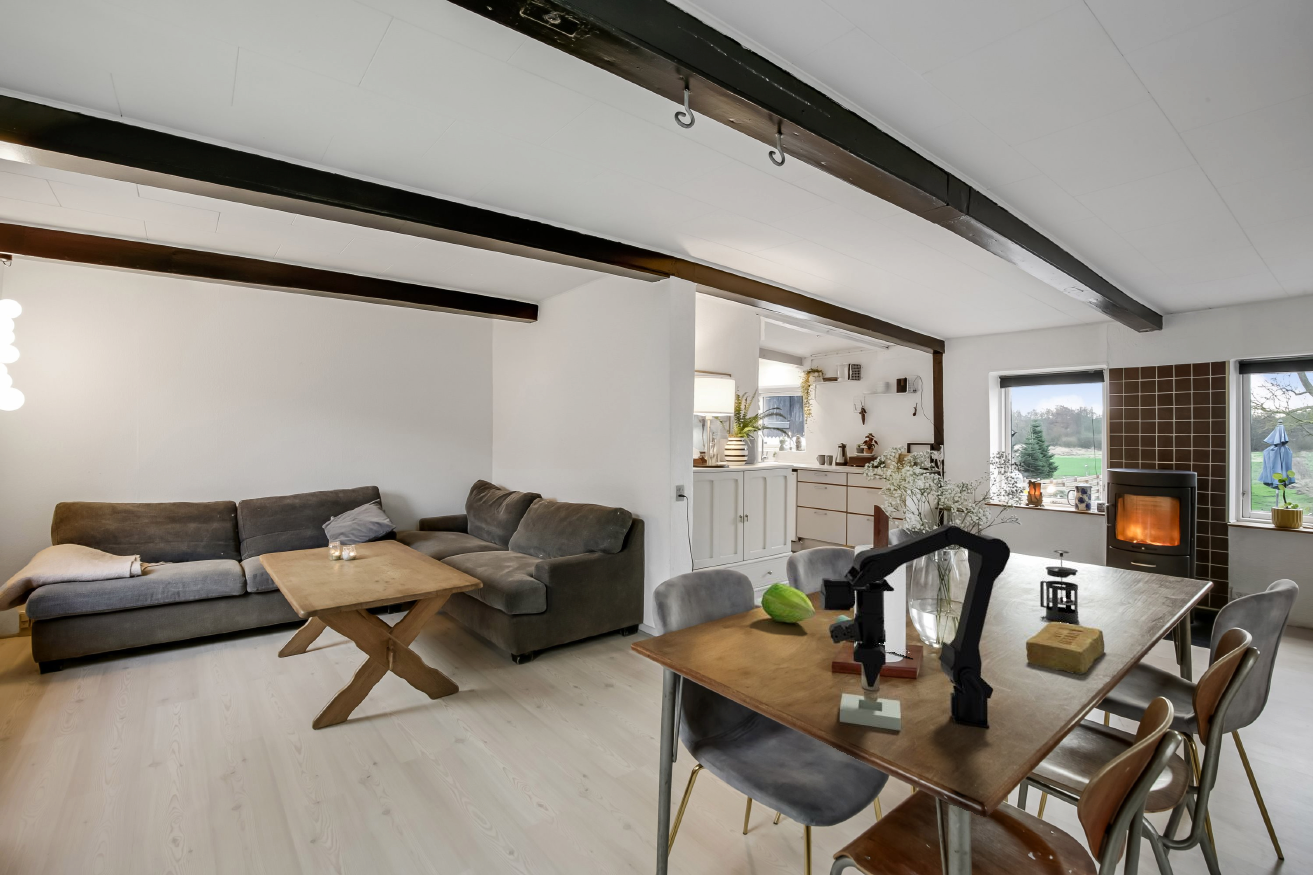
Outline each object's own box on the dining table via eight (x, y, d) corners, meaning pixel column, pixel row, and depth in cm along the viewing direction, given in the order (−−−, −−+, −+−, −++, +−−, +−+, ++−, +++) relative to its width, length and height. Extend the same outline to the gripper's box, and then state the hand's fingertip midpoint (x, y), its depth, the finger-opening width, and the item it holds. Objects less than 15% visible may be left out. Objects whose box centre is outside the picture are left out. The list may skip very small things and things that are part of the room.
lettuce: (795, 635, 188) (795, 596, 188) (753, 619, 205) (753, 583, 205) (828, 628, 195) (828, 590, 195) (785, 613, 212) (785, 578, 212)
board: (899, 712, 134) (899, 700, 134) (900, 730, 125) (900, 718, 125) (842, 704, 138) (842, 693, 138) (839, 721, 130) (839, 709, 130)
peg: (879, 696, 133) (879, 655, 133) (879, 703, 129) (879, 660, 130) (861, 694, 134) (861, 653, 134) (861, 701, 131) (860, 658, 131)
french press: (1086, 621, 202) (1086, 551, 202) (1072, 625, 197) (1071, 554, 197) (1048, 613, 212) (1048, 546, 212) (1034, 617, 207) (1033, 549, 207)
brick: (1025, 667, 164) (1023, 641, 164) (1051, 643, 183) (1049, 620, 183) (1085, 677, 154) (1083, 649, 155) (1106, 651, 173) (1103, 626, 173)
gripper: (834, 597, 144) (835, 664, 143) (827, 618, 126) (828, 694, 126) (885, 601, 140) (885, 669, 139) (885, 624, 122) (886, 702, 122)
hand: (870, 683), depth 132 cm, fingers closed on peg, 4 cm apart
